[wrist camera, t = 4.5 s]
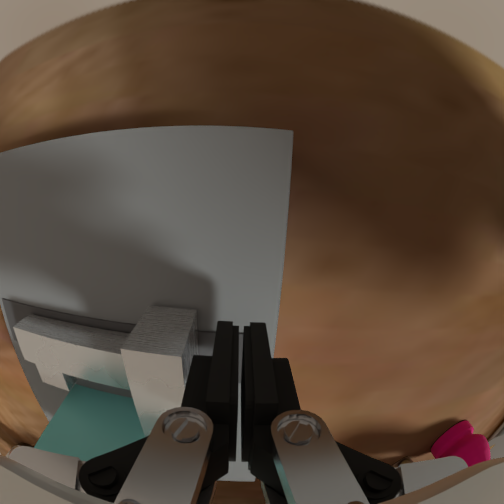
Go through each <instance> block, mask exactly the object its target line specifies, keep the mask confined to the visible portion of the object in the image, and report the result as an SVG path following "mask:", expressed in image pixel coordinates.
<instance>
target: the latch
mask: <svg viewBox="0 0 504 504" xmlns="http://www.w3.org/2000/svg"><path fill="white" fill-rule="evenodd" d="M13 328H14V331H15V334H16V337H17V340H18V343H19V346H20V349H21V351H22V354H23V357H24V359H25V360H27V361H29V362H32V363H35V364H36V367H37V369H38V372H39V374H40V376H41V379H42V381H43V382H44V383H47V384H50V385H53V386H55V387H58V388H61V389H64V390H67V391H70V390H71V388H72V387H73V385H74V384H75V382H76V381H77V379H76V377H77V378H81V379H84V380H88V381H92V382H96V383H100V384H104V385H108V386H113V387H117V388H122V389H127V390H131V394H132V397H133V401H134V404H135V408H136V411H137V414H138V417H139V420H140V423H141V426H142V429H143V432H144V435H145V437H146V436H148V435H150V433H151V431H152V429H153V427H154V425H155V423H156V421H157V419H158V418H159V417H160V416H161V414H163V413H164V412H166V411H167V410H170V409H173V408H176V407H181V403H182V399H183V395H184V391H185V386H186V382H187V378H188V374H189V370H190V366H191V362H192V358H193V355H198V332H197V310H196V309H182V308H170V307H159V306H149V307H148V308H147V310H146V311H145V313H144V314H143V315H142V317H141V318H140V320H139V321H138V323H137V324H136V326H135V327H134V329H133V330H132V332H131V333H124V332H117V331H111V330H105V329H99V328H94V327H88V326H83V325H78V324H73V323H68V322H63V321H59V320H54V319H50V318H46V317H42V316H38V315H34V314H29V315H27V316H26V317H25V318H24V319H22V320H21V321H20V322H19V323H17V324H16V325H15V326H14V327H13Z"/></svg>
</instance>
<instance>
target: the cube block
mask: <svg viewBox="0 0 504 504" xmlns="http://www.w3.org/2000/svg"><path fill="white" fill-rule="evenodd" d="M144 437H145V435H144V432H143V429H142V426H141V423H140V420H139V417H138V414H137V411H136V408H135V404H134V401H133V398H130V397H125V396H120V395H116V394H111V393H107V392H103V391H99V390H95V389H91V388H88V387H84V386H81V385H77V384H75V385H74V386H73V388H72V389H71V391H70V392H69V393H68V395H67V396H66V398H65V399H64V401H63V402H62V404H61V405H60V407H59V408H58V410H57V411H56V413H55V414H54V416H53V418H52V419H51V421H50V422H49V424H48V425H47V427H46V429H45V430H44V432H43V433H42V435H41V437H40V438H39V440H38V442H37V443H36V445H35V447H34V448H36V449H40V450H44V451H48V452H53V453H57V454H62V455H67V456H73V457H79V459H80V460H81V461H88V460H90V459H92V458H94V457H97V456H100V455H102V454H105V453H108V452H110V451H113V450H115V449H118V448H120V447H123V446H125V445H128V444H130V443H132V442H135V441H137V440H139V439H142V438H144Z"/></svg>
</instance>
